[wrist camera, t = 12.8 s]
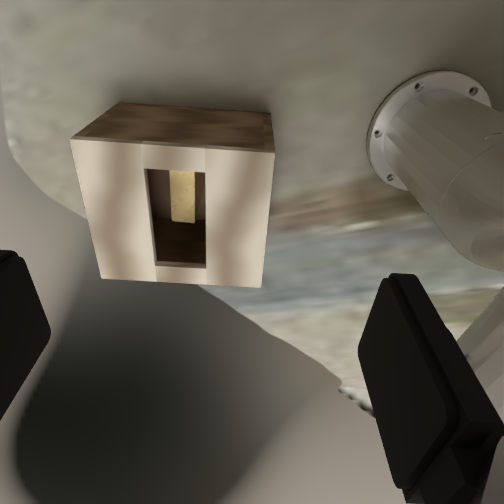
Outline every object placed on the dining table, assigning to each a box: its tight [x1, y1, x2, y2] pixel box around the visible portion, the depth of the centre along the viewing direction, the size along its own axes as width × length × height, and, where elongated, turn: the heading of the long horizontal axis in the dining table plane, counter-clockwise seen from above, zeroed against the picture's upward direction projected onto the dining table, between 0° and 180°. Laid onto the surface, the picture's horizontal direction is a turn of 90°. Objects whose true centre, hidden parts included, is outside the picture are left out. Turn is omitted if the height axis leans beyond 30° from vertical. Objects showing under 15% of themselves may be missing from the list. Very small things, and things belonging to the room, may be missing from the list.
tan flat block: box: [169, 170, 203, 223], centre depth 38 cm, size 2×6×6 cm, turn 175°
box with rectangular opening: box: [69, 102, 275, 288], centre depth 37 cm, size 16×14×12 cm
